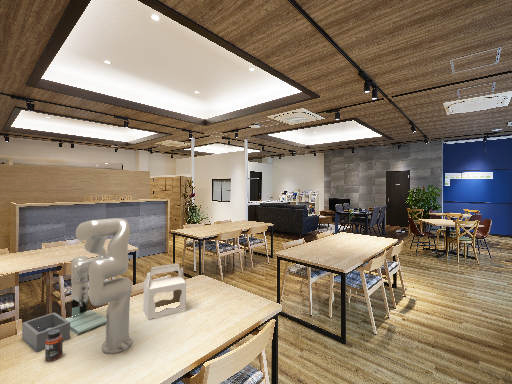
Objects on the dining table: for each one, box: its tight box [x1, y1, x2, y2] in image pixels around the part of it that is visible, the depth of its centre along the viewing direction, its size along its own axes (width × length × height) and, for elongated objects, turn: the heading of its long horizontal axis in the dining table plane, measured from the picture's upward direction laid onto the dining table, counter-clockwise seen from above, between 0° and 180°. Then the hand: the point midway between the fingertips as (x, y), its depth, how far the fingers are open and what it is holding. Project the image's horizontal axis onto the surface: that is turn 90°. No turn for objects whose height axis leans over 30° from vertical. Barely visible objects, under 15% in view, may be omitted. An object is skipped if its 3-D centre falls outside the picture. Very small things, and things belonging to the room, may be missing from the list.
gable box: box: [142, 262, 187, 321], centre depth 156 cm, size 22×13×28 cm, turn 124°
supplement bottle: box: [44, 329, 64, 362], centre depth 112 cm, size 6×6×11 cm
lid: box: [65, 305, 106, 335], centre depth 140 cm, size 20×15×7 cm
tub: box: [21, 312, 71, 354], centre depth 125 cm, size 18×13×8 cm
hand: (78, 309), depth 144 cm, fingers open, 9 cm apart
